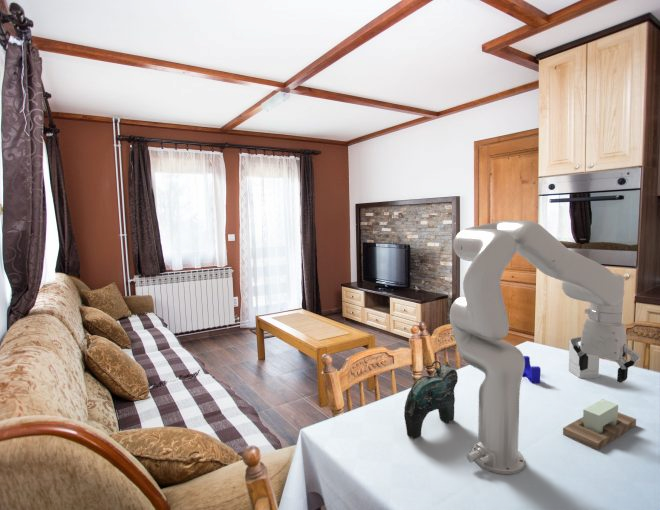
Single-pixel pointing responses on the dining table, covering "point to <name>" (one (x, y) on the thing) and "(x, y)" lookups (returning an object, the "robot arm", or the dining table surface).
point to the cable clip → (531, 371)
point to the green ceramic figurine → (430, 398)
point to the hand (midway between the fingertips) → (601, 375)
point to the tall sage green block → (600, 415)
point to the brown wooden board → (595, 439)
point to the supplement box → (575, 368)
